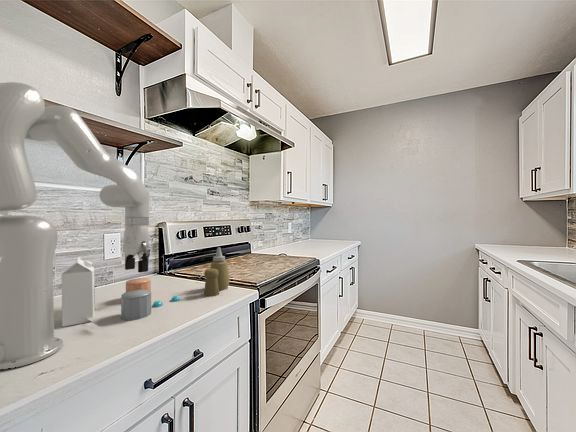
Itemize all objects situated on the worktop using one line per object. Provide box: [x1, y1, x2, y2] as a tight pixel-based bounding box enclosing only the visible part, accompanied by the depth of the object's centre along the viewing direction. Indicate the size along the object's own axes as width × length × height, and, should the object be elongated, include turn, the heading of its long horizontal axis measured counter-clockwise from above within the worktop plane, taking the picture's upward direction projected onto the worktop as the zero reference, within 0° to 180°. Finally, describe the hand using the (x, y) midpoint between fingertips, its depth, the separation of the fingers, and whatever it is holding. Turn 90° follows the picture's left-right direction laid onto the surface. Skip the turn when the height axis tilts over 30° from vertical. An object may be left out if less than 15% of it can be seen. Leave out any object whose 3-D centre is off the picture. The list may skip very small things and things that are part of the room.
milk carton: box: [61, 255, 96, 327], centre depth 80 cm, size 7×7×19 cm
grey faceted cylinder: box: [120, 290, 152, 321], centre depth 80 cm, size 8×8×8 cm
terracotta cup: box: [125, 277, 152, 293], centre depth 96 cm, size 8×8×8 cm
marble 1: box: [151, 300, 163, 308], centre depth 88 cm, size 3×3×3 cm
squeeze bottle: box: [209, 246, 230, 292], centre depth 108 cm, size 8×8×18 cm
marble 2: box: [170, 295, 181, 303], centre depth 93 cm, size 3×3×3 cm
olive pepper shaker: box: [203, 268, 220, 298], centre depth 100 cm, size 6×6×11 cm
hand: (136, 270), depth 95 cm, fingers open, 9 cm apart
